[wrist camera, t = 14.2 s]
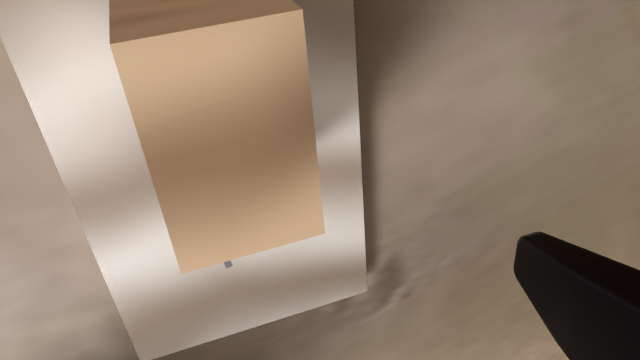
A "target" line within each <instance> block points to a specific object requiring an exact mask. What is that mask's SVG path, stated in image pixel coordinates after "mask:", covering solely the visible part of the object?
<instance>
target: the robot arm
mask: <svg viewBox="0 0 640 360" xmlns="http://www.w3.org/2000/svg"><path fill="white" fill-rule="evenodd" d="M514 273H515V276H516V278H517V280H518V282H519V283H520V285H521V287H522V288H523V290H524V291H525V293H526V295H527V296H528V298H529V300H530V301H531V303H532V304H533V306H534V308H535V309H536V311H537V312H538V314H539V316H540V317H541V319H542V320H543V322H544V324H545V325H546V327H547V328H548V330H549V332H550V333H551V335H552V336H553V338H554V339H555V341H556V342H557V344H558V345H559V346H560V348H561V349H562V350H563V352H564V353H565V354H566V356H567V357H568V358H569V360H640V270H637V269H635V268H632V267H630V266H627V265H625V264H622V263H620V262H617V261H614V260H612V259H609V258H607V257H604V256H602V255H599V254H597V253H594V252H591V251H589V250H586V249H584V248H581V247H579V246H576V245H574V244H571V243H568V242H566V241H563V240H561V239H558V238H556V237H553V236H551V235H548V234H545V233H543V232H533V233H530V234H527V235H524V236H522V237H520V238H519V240H518V242H517V248H516V254H515V260H514Z"/></svg>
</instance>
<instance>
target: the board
mask: <svg viewBox="0 0 640 360" xmlns="http://www.w3.org/2000/svg"><path fill="white" fill-rule="evenodd" d="M292 1H293V2H295V3H296V4H297V5H298V6H299V7H300V8H302V9H303V18H304V28H305V38H306V48H307V58H308V68H309V78H310V88H311V98H312V108H313V118H314V129H315V139H316V149H317V159H318V169H319V179H320V189H321V199H322V209H323V219H324V229H325V234H322V235H318V236H315V237H311V238H307V239H304V240H300V241H297V242H293V243H290V244H286V245H283V246H279V247H276V248H272V249H269V250H265V251H262V252H258V253H254V254H251V255H247V256H244V257H240V258H237V259H233V260H230V261H226V262H223V263H219V264H216V265H212V266H209V267H205V268H201V269H198V270H194V271H191V272H187V273H184V274H181V272H180V268H179V265H178V262H177V259H176V256H175V252H174V249H173V246H172V243H171V240H170V236H169V233H168V230H167V227H166V224H165V220H164V217H163V214H162V211H161V207H160V204H159V201H158V198H157V195H156V191H155V188H154V185H153V182H152V179H151V175H150V172H149V169H148V166H147V163H146V159H145V156H144V153H143V150H142V147H141V143H140V140H139V137H138V134H137V131H136V127H135V124H134V121H133V118H132V115H131V111H130V108H129V105H128V102H127V99H126V95H125V92H124V89H123V86H122V82H121V79H120V76H119V73H118V70H117V66H116V63H115V60H114V57H113V54H112V50H111V47H110V38H109V0H0V37H1V39H2V41H3V44H4V46H5V48H6V51H7V53H8V55H9V57H10V60H11V62H12V64H13V67H14V69H15V71H16V74H17V76H18V78H19V81H20V83H21V85H22V88H23V90H24V92H25V95H26V97H27V99H28V102H29V104H30V106H31V109H32V111H33V113H34V116H35V118H36V120H37V123H38V125H39V127H40V130H41V132H42V134H43V137H44V139H45V141H46V144H47V146H48V148H49V151H50V153H51V155H52V158H53V160H54V162H55V165H56V167H57V169H58V172H59V174H60V176H61V179H62V181H63V183H64V185H65V188H66V190H67V192H68V195H69V197H70V199H71V202H72V204H73V206H74V209H75V211H76V213H77V216H78V218H79V220H80V223H81V225H82V227H83V230H84V232H85V234H86V237H87V239H88V241H89V244H90V246H91V248H92V251H93V253H94V255H95V258H96V260H97V262H98V265H99V267H100V269H101V272H102V274H103V276H104V279H105V281H106V283H107V286H108V288H109V290H110V293H111V295H112V297H113V300H114V302H115V304H116V307H117V309H118V311H119V313H120V316H121V318H122V320H123V323H124V325H125V327H126V330H127V332H128V334H129V337H130V339H131V341H132V344H133V346H134V348H135V351H136V353H137V355H138V358H139V360H153V359H156V358H159V357H162V356H165V355H169V354H172V353H175V352H178V351H181V350H184V349H188V348H191V347H194V346H197V345H200V344H203V343H206V342H210V341H213V340H216V339H219V338H222V337H225V336H229V335H232V334H235V333H238V332H241V331H244V330H247V329H251V328H254V327H257V326H260V325H263V324H266V323H270V322H273V321H276V320H279V319H282V318H285V317H288V316H292V315H295V314H298V313H301V312H304V311H307V310H311V309H314V308H317V307H320V306H323V305H326V304H330V303H333V302H336V301H339V300H342V299H345V298H348V297H352V296H355V295H358V294H361V293H364V292H367V271H366V250H365V229H364V208H363V187H362V166H361V145H360V124H359V103H358V82H357V61H356V40H355V19H354V0H292Z"/></svg>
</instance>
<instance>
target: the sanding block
mask: <svg viewBox="0 0 640 360" xmlns="http://www.w3.org/2000/svg"><path fill="white" fill-rule="evenodd" d="M109 38H110V47H111V50H112V54H113V57H114V60H115V63H116V66H117V70H118V73H119V76H120V79H121V82H122V86H123V89H124V92H125V95H126V99H127V102H128V105H129V108H130V111H131V115H132V118H133V121H134V124H135V127H136V131H137V134H138V137H139V140H140V143H141V147H142V150H143V153H144V156H145V159H146V163H147V166H148V169H149V172H150V175H151V179H152V182H153V185H154V188H155V191H156V195H157V198H158V201H159V204H160V207H161V211H162V214H163V217H164V220H165V224H166V227H167V230H168V233H169V236H170V240H171V243H172V246H173V249H174V252H175V256H176V259H177V262H178V265H179V268H180V272H181V274H184V273H187V272H191V271H194V270H198V269H201V268H205V267H209V266H212V265H216V264H219V263H223V262H226V261H230V260H233V259H237V258H240V257H244V256H247V255H251V254H254V253H258V252H262V251H265V250H269V249H272V248H276V247H279V246H283V245H286V244H290V243H293V242H297V241H300V240H304V239H307V238H311V237H315V236H318V235H322V234H325V229H324V219H323V209H322V199H321V189H320V179H319V169H318V159H317V149H316V139H315V129H314V118H313V108H312V98H311V88H310V78H309V68H308V58H307V48H306V38H305V28H304V18H303V9H302V8H300V7H299V6H298V5H297V4H296V3H295V2H293V1H292V0H109Z"/></svg>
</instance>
